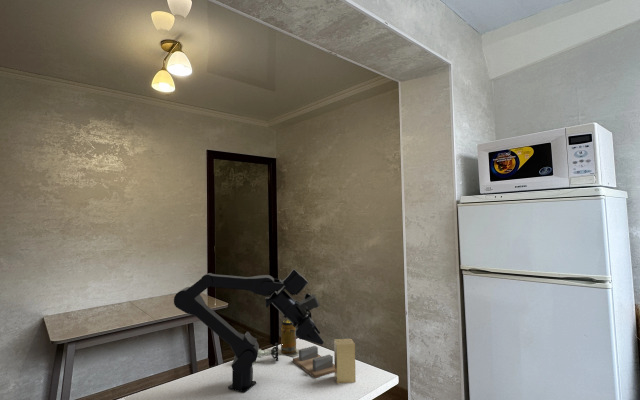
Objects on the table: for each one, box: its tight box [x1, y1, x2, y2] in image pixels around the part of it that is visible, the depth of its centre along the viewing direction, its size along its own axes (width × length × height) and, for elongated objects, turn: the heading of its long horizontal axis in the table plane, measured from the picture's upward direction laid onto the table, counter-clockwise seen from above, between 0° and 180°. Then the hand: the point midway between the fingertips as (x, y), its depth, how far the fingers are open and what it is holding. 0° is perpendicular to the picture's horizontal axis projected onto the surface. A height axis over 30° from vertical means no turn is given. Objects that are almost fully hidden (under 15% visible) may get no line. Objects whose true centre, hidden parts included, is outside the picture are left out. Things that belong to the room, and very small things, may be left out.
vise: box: [292, 345, 335, 379], centre depth 117 cm, size 16×10×4 cm, turn 32°
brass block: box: [333, 338, 357, 384], centre depth 106 cm, size 6×5×12 cm
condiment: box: [278, 319, 300, 358], centre depth 130 cm, size 7×8×12 cm
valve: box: [252, 342, 279, 366], centre depth 120 cm, size 7×7×12 cm
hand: (321, 338), depth 106 cm, fingers open, 9 cm apart
